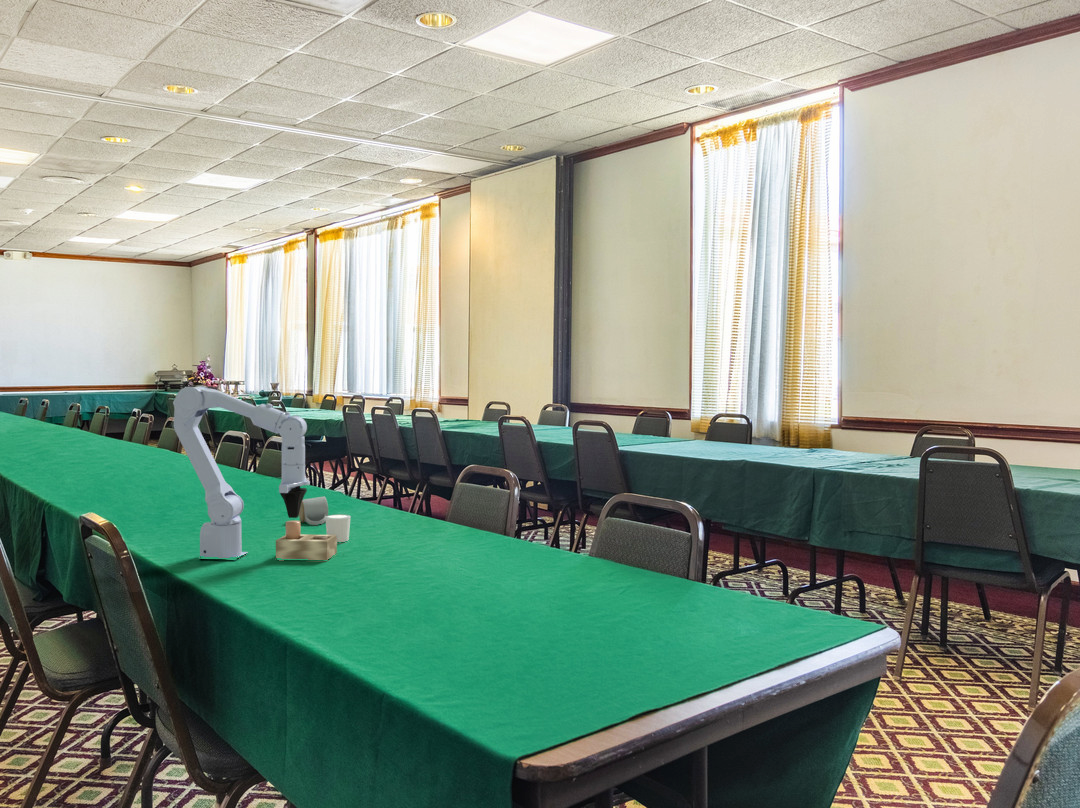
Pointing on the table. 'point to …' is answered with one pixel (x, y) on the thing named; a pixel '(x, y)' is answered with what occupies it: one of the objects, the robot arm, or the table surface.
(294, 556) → the maple block
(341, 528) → the white cup
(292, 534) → the terracotta peg
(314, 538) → the walnut peg
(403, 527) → the table surface
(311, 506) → the ceramic mug
